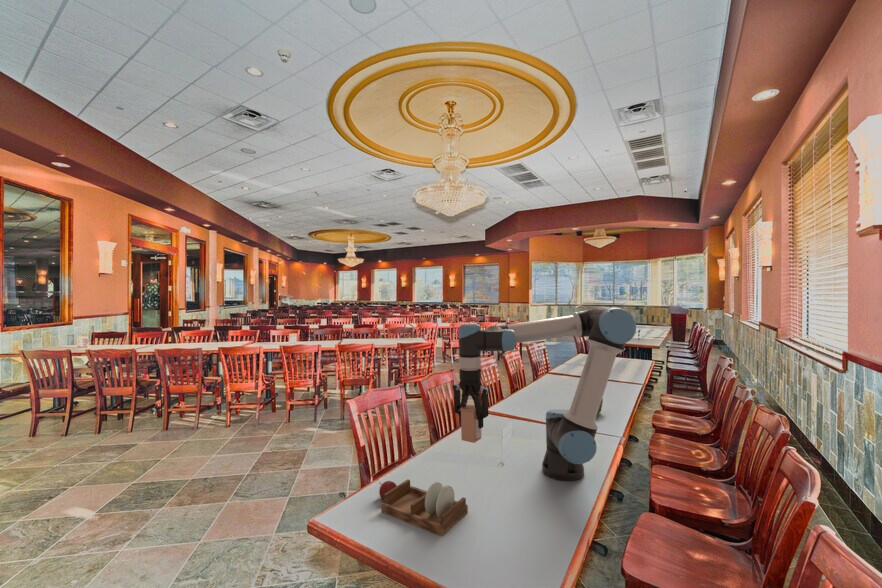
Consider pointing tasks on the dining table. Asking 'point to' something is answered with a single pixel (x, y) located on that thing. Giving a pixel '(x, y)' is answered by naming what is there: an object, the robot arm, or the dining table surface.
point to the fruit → (386, 488)
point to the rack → (420, 509)
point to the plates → (439, 499)
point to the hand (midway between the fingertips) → (471, 435)
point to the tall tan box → (468, 423)
